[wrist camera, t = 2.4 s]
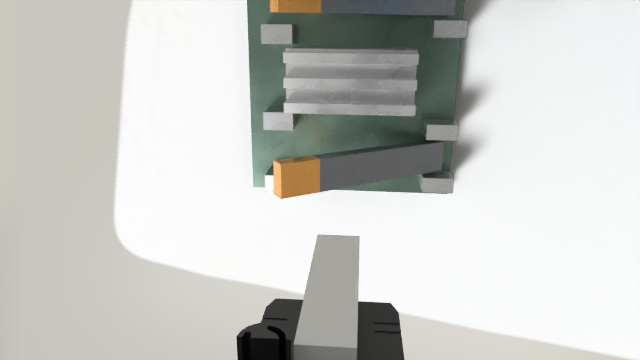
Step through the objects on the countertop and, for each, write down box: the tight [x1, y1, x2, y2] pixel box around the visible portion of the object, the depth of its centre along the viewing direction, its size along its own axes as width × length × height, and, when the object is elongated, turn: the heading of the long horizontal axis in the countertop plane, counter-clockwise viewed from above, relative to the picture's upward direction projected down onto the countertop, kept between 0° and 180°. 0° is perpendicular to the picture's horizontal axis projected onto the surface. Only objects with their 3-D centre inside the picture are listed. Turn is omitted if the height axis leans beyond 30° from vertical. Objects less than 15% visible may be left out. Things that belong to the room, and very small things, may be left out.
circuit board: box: [247, 0, 468, 194], centre depth 32 cm, size 14×16×5 cm
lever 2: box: [273, 140, 444, 199], centre depth 31 cm, size 12×2×1 cm
